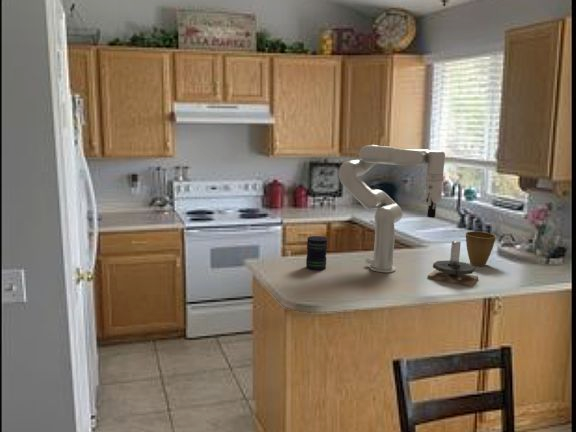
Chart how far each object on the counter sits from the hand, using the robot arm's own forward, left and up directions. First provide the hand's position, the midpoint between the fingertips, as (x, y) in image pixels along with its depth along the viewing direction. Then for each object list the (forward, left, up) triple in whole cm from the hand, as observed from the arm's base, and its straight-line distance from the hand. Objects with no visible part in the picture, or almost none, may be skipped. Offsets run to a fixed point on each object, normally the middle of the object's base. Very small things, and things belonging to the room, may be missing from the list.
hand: (431, 217), depth 262 cm
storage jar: (-49, -19, -29) cm, 60 cm away
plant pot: (+14, +42, -29) cm, 53 cm away
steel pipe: (+11, +6, -28) cm, 30 cm away
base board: (+11, +6, -29) cm, 32 cm away
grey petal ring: (+11, +6, -24) cm, 27 cm away
